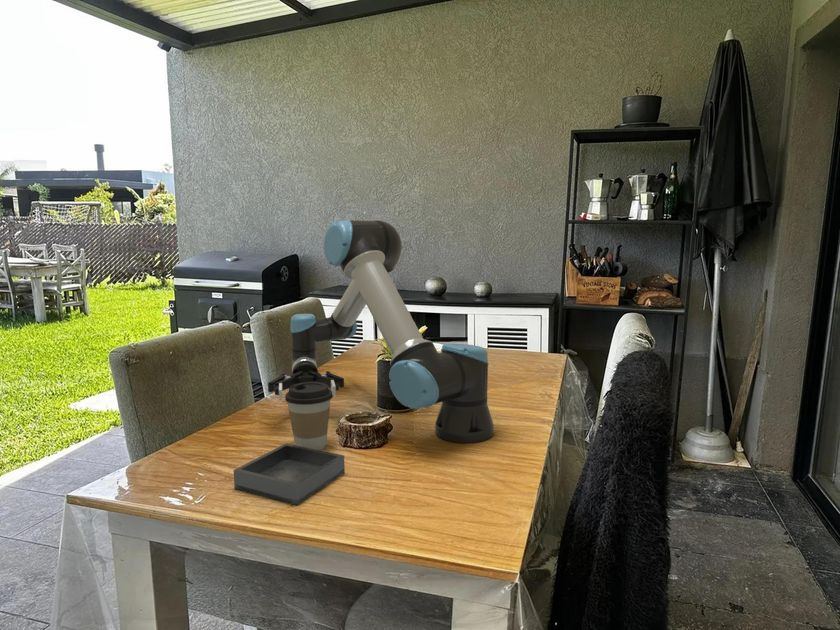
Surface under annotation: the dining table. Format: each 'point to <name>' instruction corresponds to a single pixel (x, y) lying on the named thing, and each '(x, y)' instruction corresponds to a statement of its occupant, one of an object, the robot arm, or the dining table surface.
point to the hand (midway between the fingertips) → (307, 393)
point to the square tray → (289, 473)
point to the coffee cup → (309, 413)
